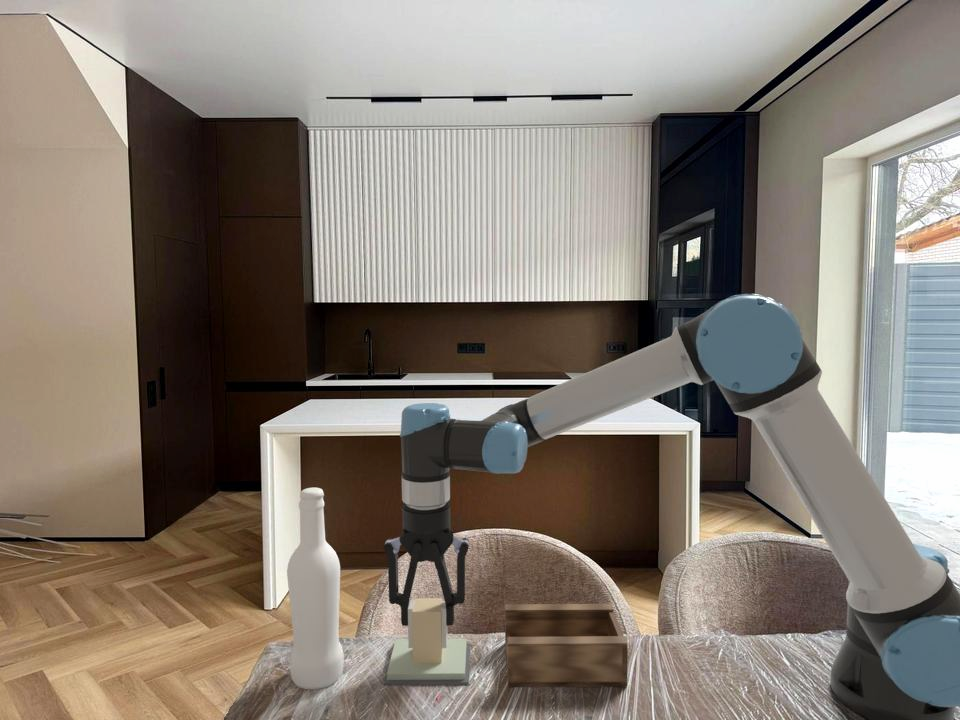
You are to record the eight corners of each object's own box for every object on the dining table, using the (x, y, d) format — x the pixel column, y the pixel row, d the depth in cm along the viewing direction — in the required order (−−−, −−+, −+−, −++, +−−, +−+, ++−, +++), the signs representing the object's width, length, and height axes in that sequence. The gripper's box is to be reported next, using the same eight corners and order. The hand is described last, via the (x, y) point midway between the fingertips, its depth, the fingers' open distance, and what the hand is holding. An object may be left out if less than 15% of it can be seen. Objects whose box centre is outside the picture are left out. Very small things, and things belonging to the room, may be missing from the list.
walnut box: (610, 642, 108) (611, 603, 108) (627, 686, 96) (627, 643, 95) (505, 643, 108) (505, 604, 108) (508, 687, 96) (507, 643, 95)
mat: (470, 645, 108) (470, 643, 108) (468, 684, 97) (468, 682, 97) (393, 646, 108) (393, 643, 108) (383, 685, 97) (383, 682, 97)
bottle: (281, 675, 100) (274, 489, 97) (328, 655, 105) (322, 478, 102) (305, 699, 94) (298, 501, 91) (353, 677, 99) (348, 489, 96)
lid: (466, 644, 108) (465, 590, 107) (464, 679, 98) (464, 620, 97) (395, 644, 108) (394, 590, 107) (386, 679, 98) (385, 620, 97)
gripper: (482, 494, 103) (482, 631, 106) (374, 495, 104) (377, 631, 106) (482, 510, 96) (482, 656, 98) (365, 510, 96) (369, 656, 98)
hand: (428, 643), depth 102 cm, fingers open, 5 cm apart
